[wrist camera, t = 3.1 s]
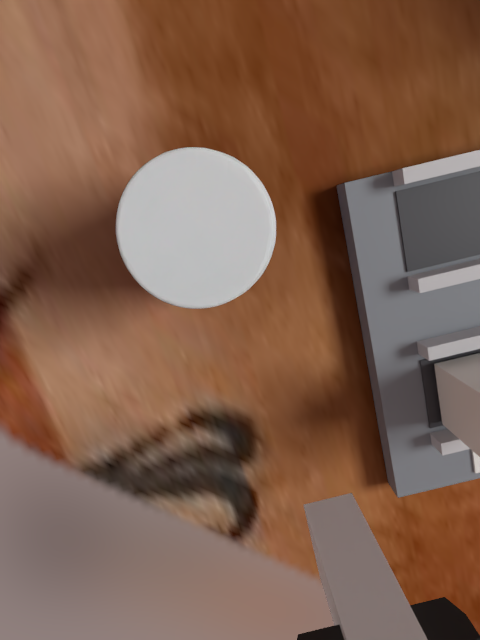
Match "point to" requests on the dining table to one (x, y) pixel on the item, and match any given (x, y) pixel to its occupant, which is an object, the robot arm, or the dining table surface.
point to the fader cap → (461, 398)
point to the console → (416, 306)
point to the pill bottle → (195, 227)
